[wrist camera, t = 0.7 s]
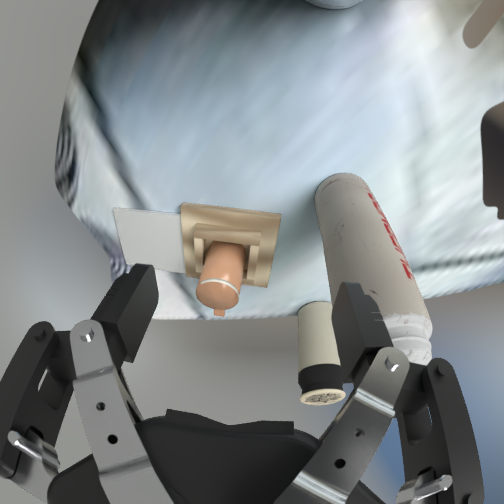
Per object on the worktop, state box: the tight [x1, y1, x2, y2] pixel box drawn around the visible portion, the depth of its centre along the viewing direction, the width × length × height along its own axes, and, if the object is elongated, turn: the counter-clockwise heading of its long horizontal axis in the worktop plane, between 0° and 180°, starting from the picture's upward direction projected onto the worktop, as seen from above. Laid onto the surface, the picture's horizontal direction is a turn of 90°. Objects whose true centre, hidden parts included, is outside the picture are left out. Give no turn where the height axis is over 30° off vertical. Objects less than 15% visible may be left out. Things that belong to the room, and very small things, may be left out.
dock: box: [181, 203, 281, 288], centre depth 41 cm, size 14×14×3 cm
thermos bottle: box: [314, 173, 432, 418], centre depth 24 cm, size 8×8×28 cm
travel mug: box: [298, 302, 345, 405], centre depth 45 cm, size 8×8×18 cm
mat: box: [113, 208, 186, 274], centre depth 43 cm, size 12×12×1 cm
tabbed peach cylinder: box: [196, 240, 246, 317], centre depth 39 cm, size 10×6×9 cm, turn 174°
